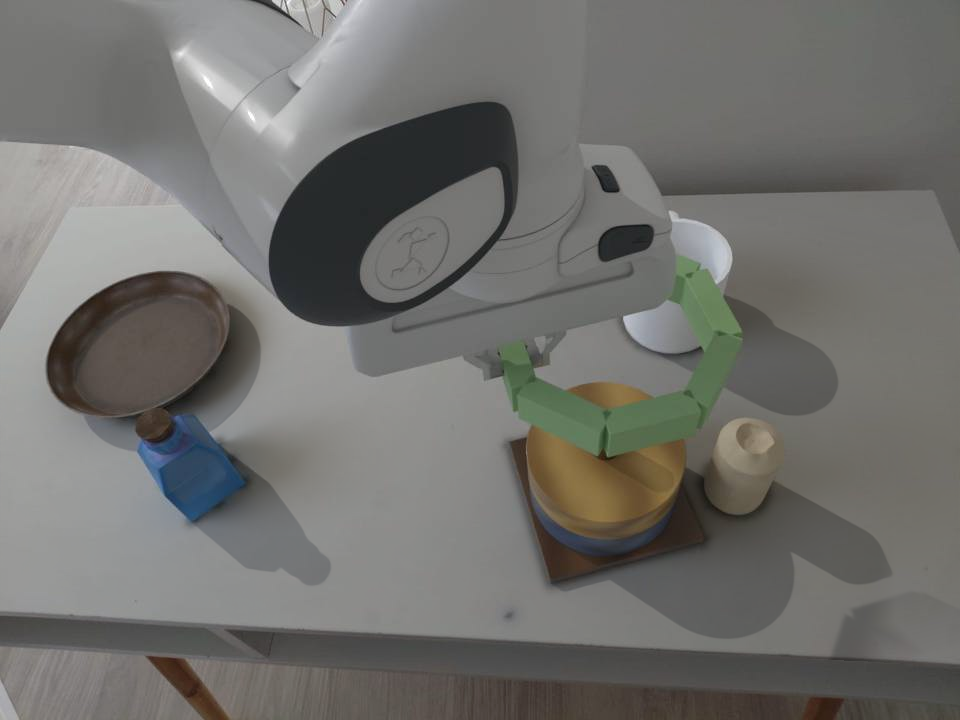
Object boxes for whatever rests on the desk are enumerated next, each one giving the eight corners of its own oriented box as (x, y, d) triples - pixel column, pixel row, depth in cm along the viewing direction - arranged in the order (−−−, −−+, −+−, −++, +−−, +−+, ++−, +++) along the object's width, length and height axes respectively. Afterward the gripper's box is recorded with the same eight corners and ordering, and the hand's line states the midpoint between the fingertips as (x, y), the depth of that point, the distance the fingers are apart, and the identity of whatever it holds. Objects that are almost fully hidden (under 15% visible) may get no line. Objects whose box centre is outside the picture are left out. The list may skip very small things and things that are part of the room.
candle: (772, 477, 72) (798, 424, 63) (752, 526, 69) (777, 477, 61) (715, 453, 74) (734, 399, 65) (694, 499, 71) (711, 449, 63)
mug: (724, 351, 80) (743, 288, 72) (629, 359, 81) (636, 297, 72) (701, 263, 87) (715, 196, 79) (613, 270, 88) (618, 205, 80)
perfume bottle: (192, 522, 75) (135, 467, 65) (165, 480, 78) (107, 421, 68) (246, 484, 76) (199, 425, 67) (217, 444, 80) (168, 382, 70)
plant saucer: (129, 271, 95) (117, 253, 93) (270, 306, 90) (261, 288, 87) (23, 405, 85) (5, 389, 82) (175, 454, 79) (161, 439, 77)
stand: (550, 583, 68) (547, 527, 57) (509, 447, 76) (500, 375, 65) (702, 542, 69) (727, 479, 58) (646, 411, 77) (658, 335, 66)
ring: (532, 476, 48) (531, 454, 46) (476, 294, 57) (472, 267, 55) (766, 417, 49) (778, 392, 47) (675, 247, 58) (680, 219, 56)
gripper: (316, 308, 38) (372, 441, 49) (702, 216, 39) (671, 366, 51) (304, 223, 42) (359, 365, 53) (658, 141, 43) (638, 296, 54)
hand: (514, 365), depth 52 cm, fingers closed on ring, 2 cm apart
